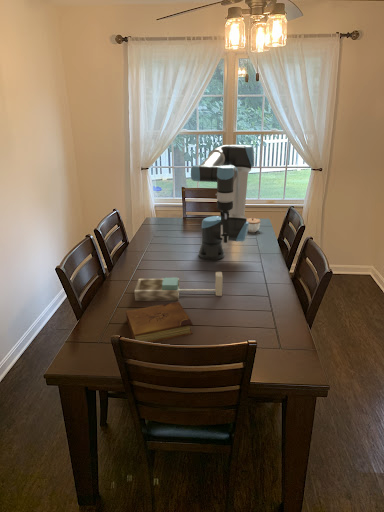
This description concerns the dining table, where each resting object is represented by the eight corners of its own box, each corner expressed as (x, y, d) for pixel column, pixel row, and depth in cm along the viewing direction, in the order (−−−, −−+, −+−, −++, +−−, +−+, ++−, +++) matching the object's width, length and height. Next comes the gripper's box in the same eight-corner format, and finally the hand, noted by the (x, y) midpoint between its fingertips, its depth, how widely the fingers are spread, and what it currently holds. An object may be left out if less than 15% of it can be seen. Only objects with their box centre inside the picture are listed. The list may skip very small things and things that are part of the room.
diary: (178, 312, 165) (178, 300, 163) (192, 335, 149) (192, 323, 146) (126, 321, 158) (125, 309, 156) (135, 346, 142) (134, 334, 139)
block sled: (221, 289, 182) (221, 270, 178) (222, 297, 174) (222, 277, 171) (164, 289, 182) (163, 270, 179) (162, 297, 175) (161, 278, 171)
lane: (179, 287, 185) (179, 278, 183) (178, 300, 173) (178, 291, 171) (139, 287, 185) (138, 278, 183) (135, 300, 173) (134, 291, 171)
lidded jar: (250, 234, 257) (251, 221, 253) (241, 229, 266) (242, 217, 262) (262, 231, 261) (263, 218, 258) (253, 227, 270) (254, 215, 267)
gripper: (215, 193, 184) (215, 233, 193) (218, 208, 161) (217, 253, 170) (231, 192, 184) (230, 233, 193) (235, 208, 161) (234, 253, 170)
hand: (224, 242), depth 182 cm, fingers open, 13 cm apart
